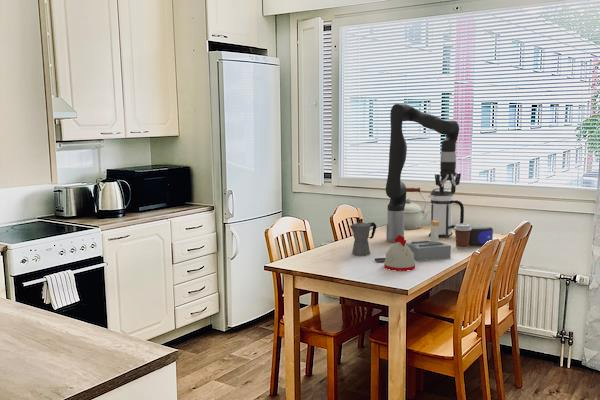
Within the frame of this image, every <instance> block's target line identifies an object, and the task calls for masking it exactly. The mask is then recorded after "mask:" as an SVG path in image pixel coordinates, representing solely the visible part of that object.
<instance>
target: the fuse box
mask: <svg viewBox="0 0 600 400" xmlns="http://www.w3.org/2000/svg"><path fill="white" fill-rule="evenodd" d="M440 242H441V243H434V244H431V243H429V242H428V239H427V240H418V241H417V240H415V241H410V242H408V241H406V243H405V244H406V245H407V246H408V247H409V248H410V250H411V251H412V252H414V260H415V261H418V262H419V261H429V260H440V259H451V255H452V254H451V253H452V252H451V251H452V245H451V244H448V243H445V242H443V241H440Z"/></svg>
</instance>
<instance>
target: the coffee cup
mask: <svg viewBox="0 0 600 400" xmlns="http://www.w3.org/2000/svg"><path fill="white" fill-rule="evenodd" d="M455 225H456V226H455V227H454V228H453V230H454V235H455V236H454V237H455V248H457V249H461V250H463V249H469V239H470V231H471V230H472V228H473V227H471V225H470V224H468V223H463V224H460V223H456V224H455Z"/></svg>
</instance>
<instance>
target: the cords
mask: <svg viewBox="0 0 600 400" xmlns="http://www.w3.org/2000/svg"><path fill="white" fill-rule="evenodd" d="M385 258H386V257H377V258H376V257H375V258H374V261H375V262H376V263H385Z"/></svg>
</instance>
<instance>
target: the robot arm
mask: <svg viewBox="0 0 600 400" xmlns="http://www.w3.org/2000/svg"><path fill="white" fill-rule="evenodd" d="M389 116H390V140H389V153H388V155H389V156H388V157H389V158H388V168H387V169H388V170H387V171H388V173H387V179H386V183H385V194H386V196H387V198H389V199H390V200H389V203H388V204H387V214H386V215H387V217H386V219H387V222H386V223H387V224H386V242H390V243H395V239H396V237H398V235H400V236H402V237H404V238H405V229H404V207H405V204H406V200H407V192H406V188H407V187H406V184H405V183H404V182H402V180H401V176H402V171H403V168H404V166H405V163H406V161H407V160H406V159H407V152H408V151H407V150H408V145H407V142H406V138H405V136H404V133H403V122H414V123H417V124H419V125H421V126H422V127H424V128H427V129H430V130H432V131H435V132H437V133H438V134H440V135H444V136H445V139H443V140H442V141H441V143H440V144H441V147H440V149H441V150H440V152H441V153H440V162H439V163H440V165H439V167H440V168H439V170H440V172H439V173H435V174H434V180H435V185H436V186H438V188H439V192H440V194H444V187H445V184H446V183H447V182H448V181H449V183H450V185H451V186H450V187H451V188H450V190H451V193H452V194H453V195H455V193H456V190H457V189H456V187H457V186H459V185H460V183H461V182H460V181H461V176H462V174H461V173H462V172H461V173H460V172H456V166H457V165H456V164H457V153H456V152H457V151H456V149H457V147H456V146H457V141H458V137H459V133H460V125H459V123H458V121H456V120H445V119H442V118H441V117H439V116H436V115H434V114H430V113H426V112H423V111H420V110H418V109H417V108H415V107H413V106H411V105H410V104H407V103H396V104H395V103H394V104H393V105H392V107H391V109H390V115H389ZM443 186H444V187H443Z"/></svg>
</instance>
